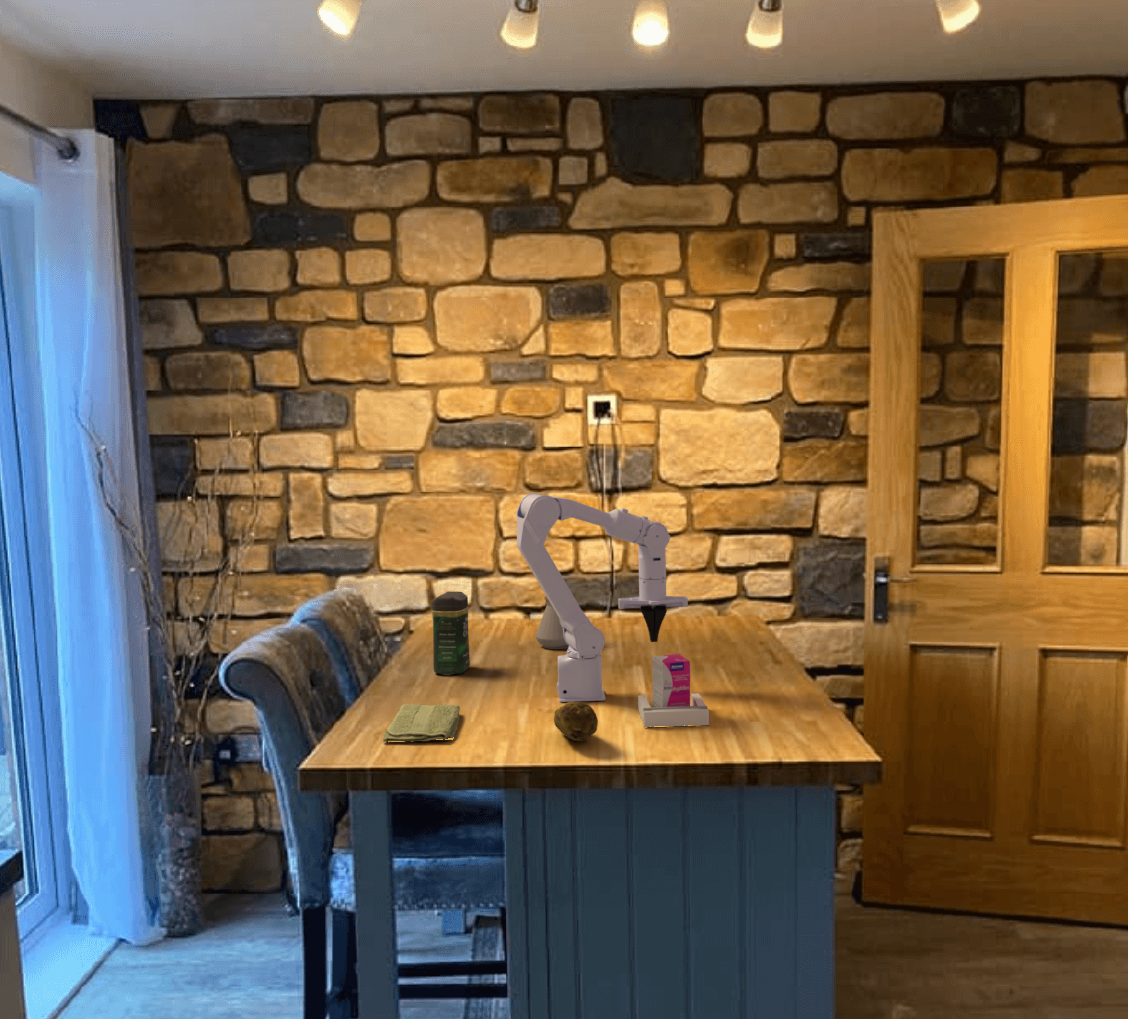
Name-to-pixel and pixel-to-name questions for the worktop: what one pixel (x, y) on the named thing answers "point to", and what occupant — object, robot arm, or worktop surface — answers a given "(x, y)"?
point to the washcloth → (423, 723)
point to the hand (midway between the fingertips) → (653, 640)
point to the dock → (674, 713)
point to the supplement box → (671, 681)
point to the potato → (576, 720)
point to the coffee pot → (550, 629)
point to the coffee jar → (450, 633)
